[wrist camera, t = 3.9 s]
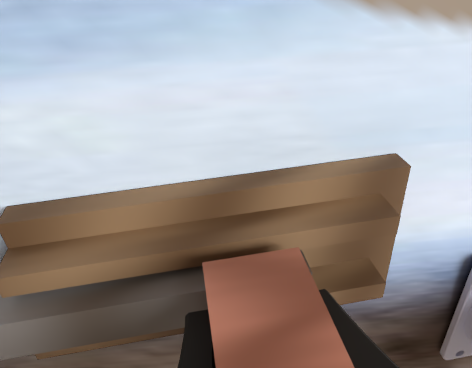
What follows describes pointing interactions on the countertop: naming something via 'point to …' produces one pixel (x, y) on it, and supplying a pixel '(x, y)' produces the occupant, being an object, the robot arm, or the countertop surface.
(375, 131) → the countertop surface
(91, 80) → the countertop surface
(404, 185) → the track board
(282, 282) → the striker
